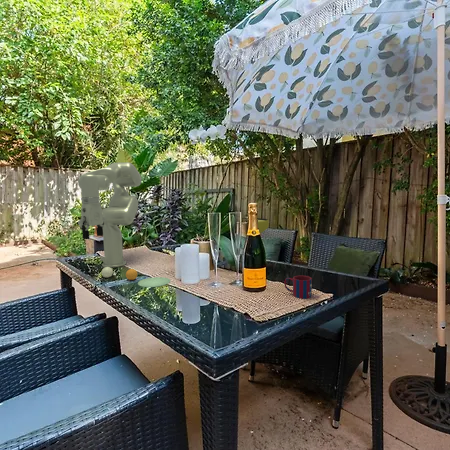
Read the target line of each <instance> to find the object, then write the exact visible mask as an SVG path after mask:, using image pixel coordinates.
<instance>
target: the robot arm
mask: <svg viewBox="0 0 450 450" xmlns="http://www.w3.org/2000/svg"><path fill="white" fill-rule="evenodd" d="M77 181H78V182H77V184H78V187H79V188H80V189H81V191H80V193H81V203H82V204H81V208H80V209H81V210H80V212H81V214H80V216H81V217H80V219H79V220H78V221H77V224H78V226H79V228H80V230H81V231H82V232H81V233H82V240H89V239H90V229H89V228H90V227H93V226H96V236H97V237H103V238H102V239H103V251H104V252H103V253H104V256H101V258H99V260H100V261H101V262H103V263H101V266H102V267H103V268H105V267H110V268H118V267H123V266H125V265H127V261H126V260H124V251H123V235H122V234H123V233H122V230H121V229H120V228H119V226H129V225H131V224H132V223H133V222H134V220H135V217H136V215H137V212H138V210H139V201H138V198H137V197H136V196H134V195H130V193H129V192H128V191H127V189H126V188H131V187H132V188H133V187H135V188H136V187H139V186H140V185H141V184H142V175H141V174H140V172H139V171H138V169H137V168H136V166H135V165H134V164H133V163H132V162H128V161H127V162H112V163H109V165H107V166H105V167H102V168H98V169H94V170H91V171H87V172H85V173H83V174H81V175H80V177H79V178H78V180H77ZM111 184H112V189H113V194H112V196H111V199H110V200H109V203H108V207H104V208H103V207H102V204H101V202H100V201H101V200H100V192H99V191H106V190H107V189H109V188H110V186H111Z"/></svg>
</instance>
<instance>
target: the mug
mask: <svg viewBox="0 0 450 450" xmlns="http://www.w3.org/2000/svg"><path fill="white" fill-rule="evenodd" d="M287 280H291V282H292V289H290V288H289V287H288V286H287ZM312 281H313V279H312V277H310V276H309V275H295V276H293V278H292V277H286V278H285V279H284V283H283V284H284V287H285V289H286V290H287V291H288V292H291V293H292V296H293V297H294V298H297V299H300V298H301V300H303V299H304V300H305V299H307V300H308V299H310V298H311V297H312V296H313V295H312V294H313V293H312V289H313V287H312V286H313V285H312Z"/></svg>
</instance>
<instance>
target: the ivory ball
mask: <svg viewBox="0 0 450 450" xmlns="http://www.w3.org/2000/svg"><path fill="white" fill-rule="evenodd" d="M100 273H101V276H102V277H103V278H107V279H108V278H111V277H112V275H113V273H114V272H113V268H112V267H103V268H102V270H101V272H100Z"/></svg>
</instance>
